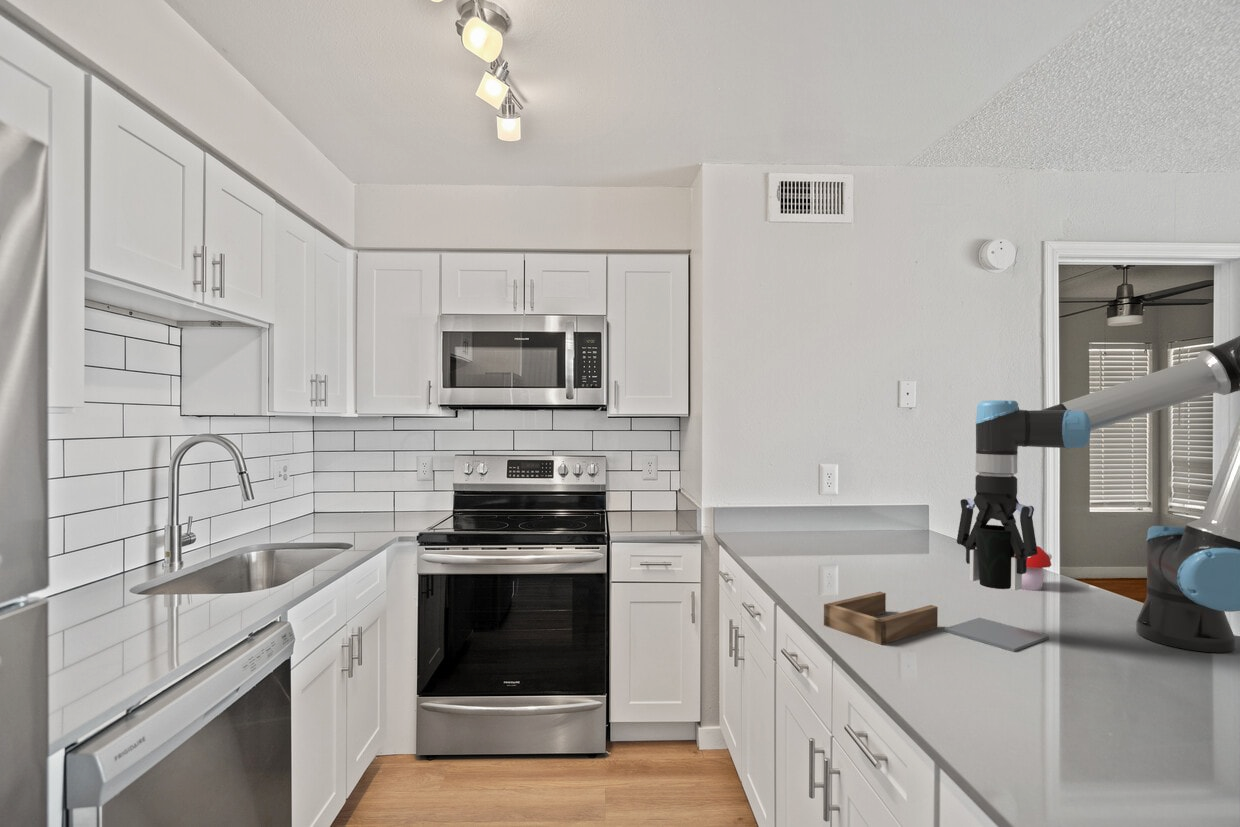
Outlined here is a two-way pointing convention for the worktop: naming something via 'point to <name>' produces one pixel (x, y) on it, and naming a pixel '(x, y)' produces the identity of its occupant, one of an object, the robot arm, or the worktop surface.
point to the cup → (994, 556)
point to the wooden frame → (877, 619)
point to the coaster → (996, 634)
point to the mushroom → (1035, 570)
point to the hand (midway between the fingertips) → (995, 584)
